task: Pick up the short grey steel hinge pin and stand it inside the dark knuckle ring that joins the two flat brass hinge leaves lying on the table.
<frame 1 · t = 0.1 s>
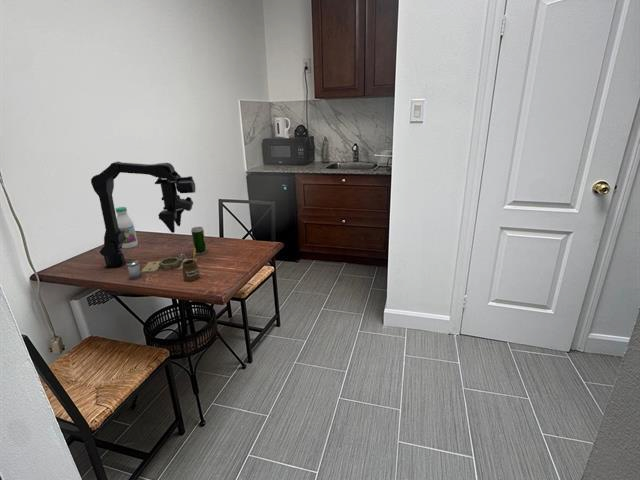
hand: (176, 229, 149), 15 cm above the table, fingers open, 9 cm apart
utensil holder: (192, 278, 136), on the table
brass hinge: (170, 266, 148), on the table
beer can: (200, 252, 162), on the table
milk bottle: (129, 246, 173), on the table
steel pin: (136, 277, 139), on the table
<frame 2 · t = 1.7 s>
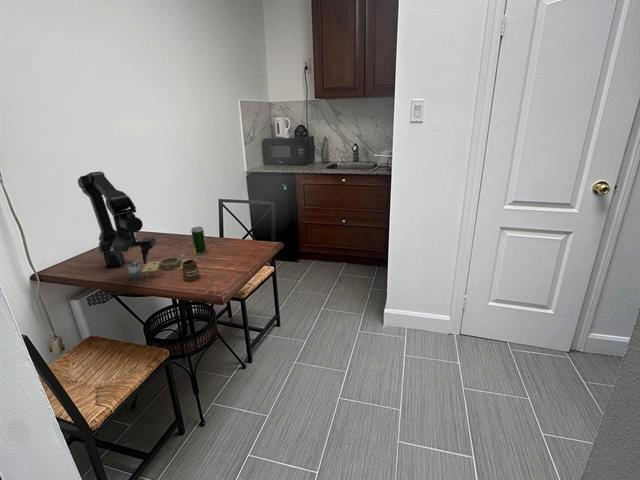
hand: (133, 264, 137), 6 cm above the table, fingers open, 9 cm apart
nothing on the table moved.
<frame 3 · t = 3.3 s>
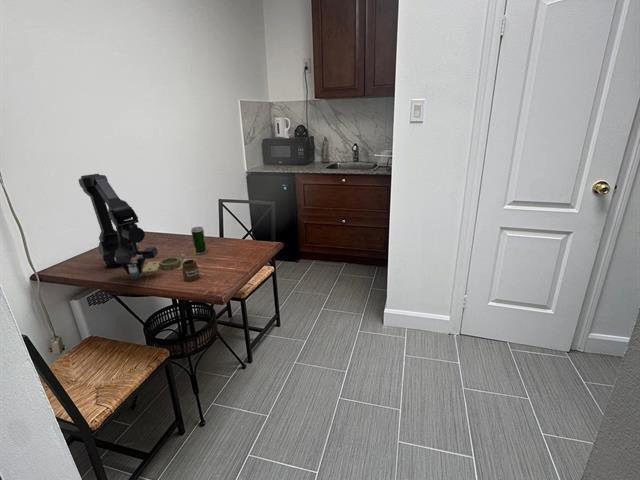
hand: (135, 273, 138), 2 cm above the table, fingers closed on steel pin, 4 cm apart
steel pin: (136, 277, 138), on the table, touching gripper
everything else where it was.
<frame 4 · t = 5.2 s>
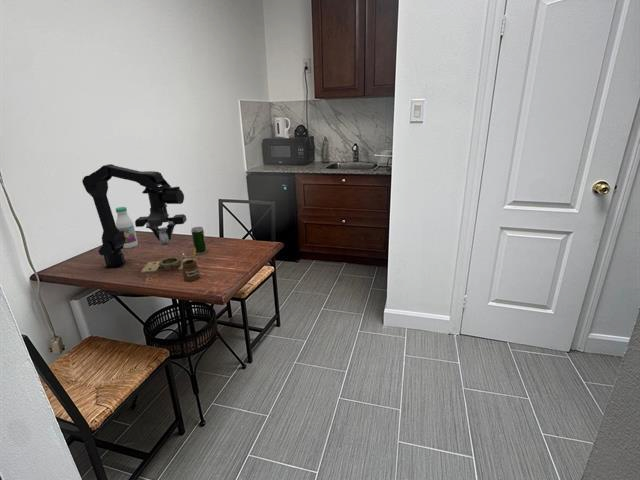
hand: (165, 240, 144), 12 cm above the table, fingers closed on steel pin, 4 cm apart
steel pin: (165, 243, 144), point 11 cm above the table, touching gripper
everything else where it was.
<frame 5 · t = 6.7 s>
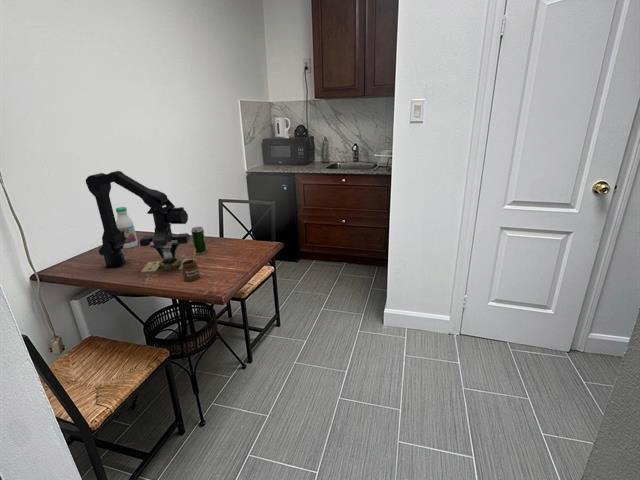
hand: (169, 258, 147), 4 cm above the table, fingers closed on steel pin, 4 cm apart
steel pin: (169, 261, 147), point 2 cm above the table, touching gripper
everything else where it was.
when the fingers open (3 cm above the table, at t = 7.6 s): steel pin drops 1 cm, resting in brass hinge.
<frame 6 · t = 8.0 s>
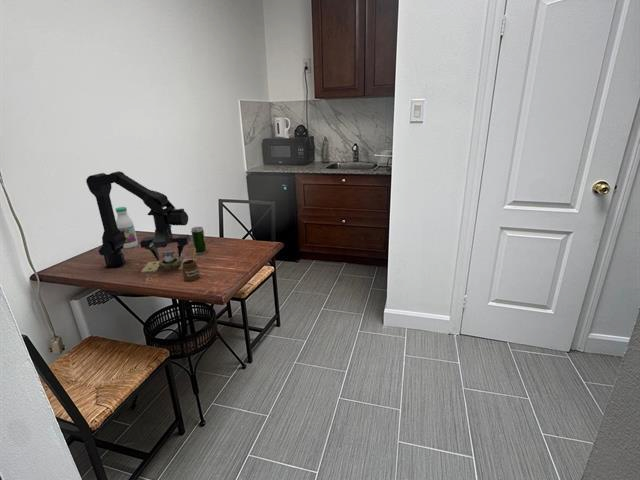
hand: (169, 259, 147), 3 cm above the table, fingers open, 9 cm apart
steel pin: (170, 266, 148), resting in brass hinge
everything else where it was.
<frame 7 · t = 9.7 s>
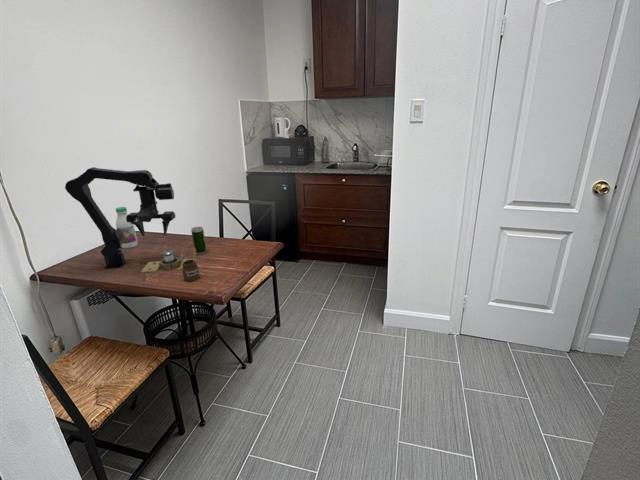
hand: (154, 235, 151), 12 cm above the table, fingers open, 9 cm apart
nothing on the table moved.
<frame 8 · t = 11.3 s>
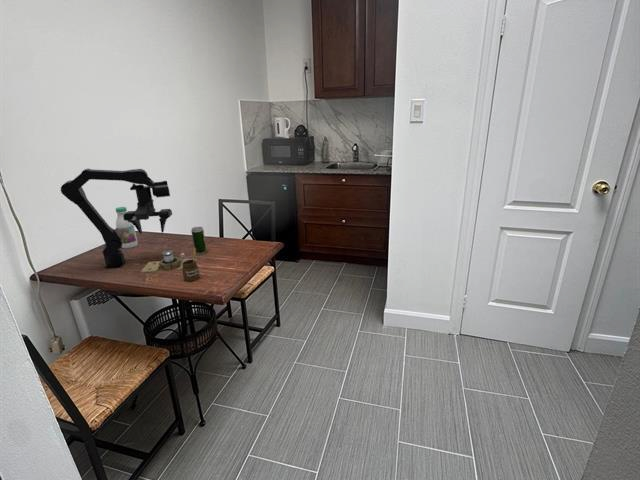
hand: (151, 233, 153), 12 cm above the table, fingers open, 9 cm apart
nothing on the table moved.
at the end: steel pin 0.1 cm from the brass hinge (horizontally); steel pin tilted 0°; steel pin resting in brass hinge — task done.
